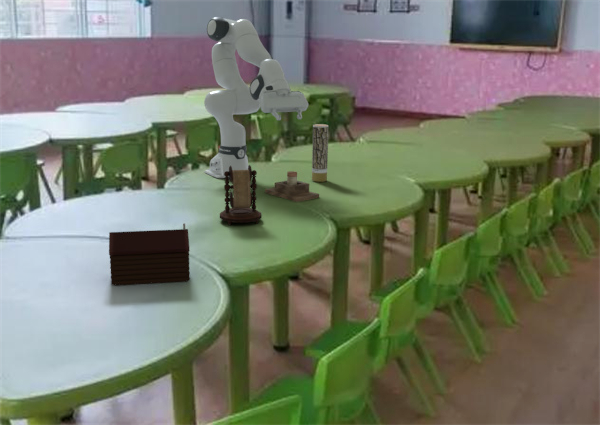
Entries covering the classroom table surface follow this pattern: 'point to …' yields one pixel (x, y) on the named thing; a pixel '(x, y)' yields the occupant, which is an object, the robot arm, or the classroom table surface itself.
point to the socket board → (292, 191)
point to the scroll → (240, 197)
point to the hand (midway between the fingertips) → (289, 118)
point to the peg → (291, 178)
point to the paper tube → (320, 152)
